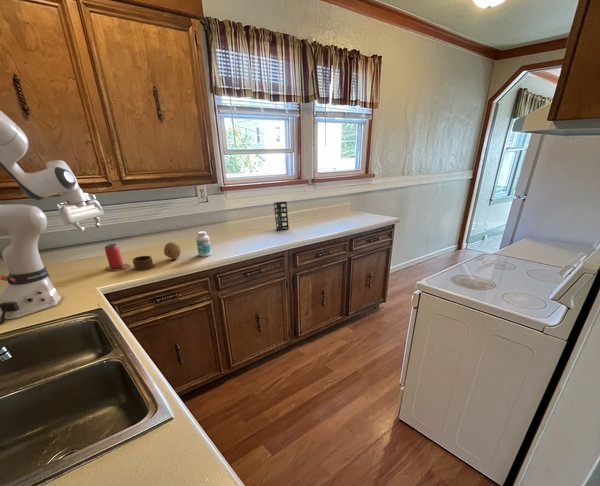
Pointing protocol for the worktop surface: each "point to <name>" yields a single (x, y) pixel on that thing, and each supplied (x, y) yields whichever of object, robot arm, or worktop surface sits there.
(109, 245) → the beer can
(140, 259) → the cup
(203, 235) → the pill bottle
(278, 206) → the holder
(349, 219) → the worktop surface
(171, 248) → the natural sponge
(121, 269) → the coaster
